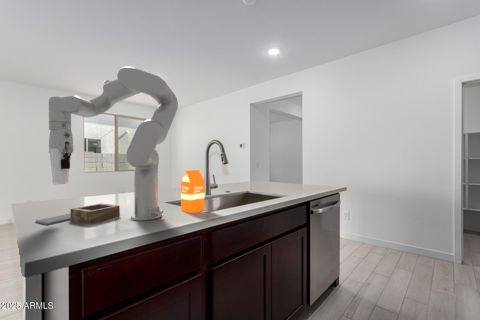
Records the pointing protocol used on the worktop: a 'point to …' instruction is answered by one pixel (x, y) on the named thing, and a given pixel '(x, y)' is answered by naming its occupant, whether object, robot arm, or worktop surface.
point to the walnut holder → (95, 213)
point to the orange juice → (192, 191)
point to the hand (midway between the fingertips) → (60, 168)
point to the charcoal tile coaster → (54, 219)
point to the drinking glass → (58, 167)
